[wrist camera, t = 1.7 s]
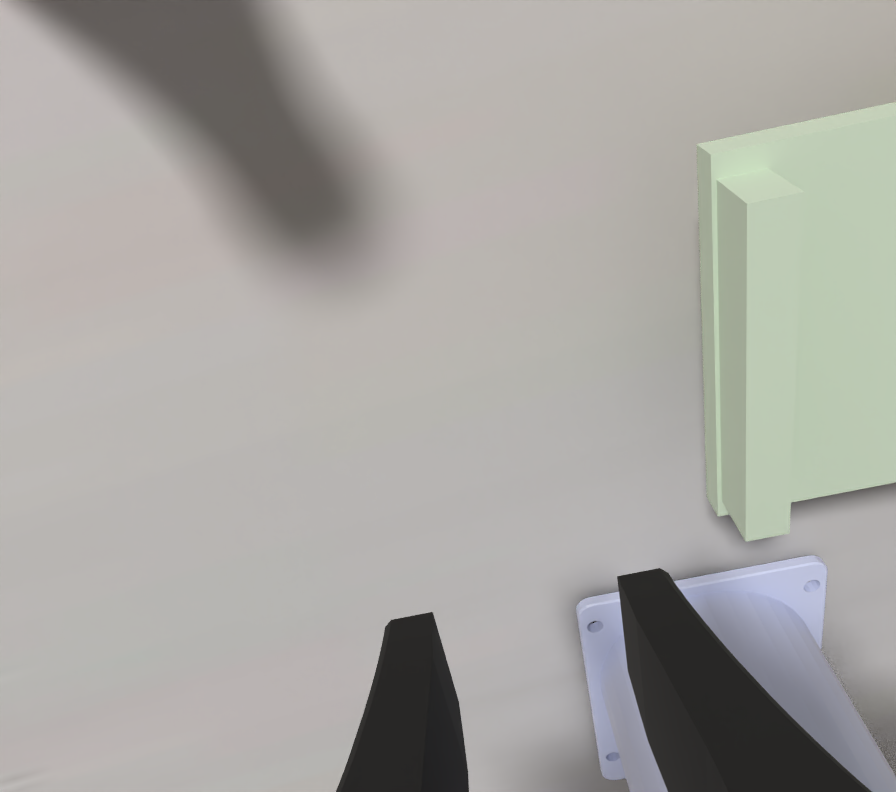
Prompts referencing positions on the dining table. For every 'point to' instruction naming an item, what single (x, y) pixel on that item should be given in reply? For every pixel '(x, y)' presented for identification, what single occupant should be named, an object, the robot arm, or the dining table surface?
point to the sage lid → (798, 314)
